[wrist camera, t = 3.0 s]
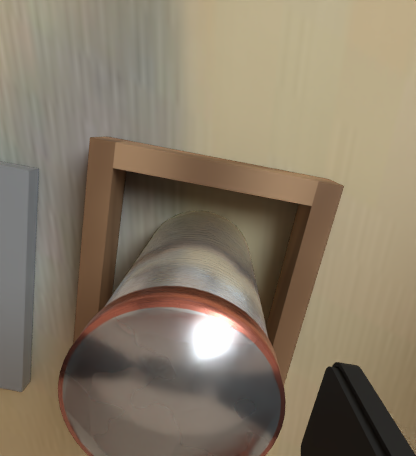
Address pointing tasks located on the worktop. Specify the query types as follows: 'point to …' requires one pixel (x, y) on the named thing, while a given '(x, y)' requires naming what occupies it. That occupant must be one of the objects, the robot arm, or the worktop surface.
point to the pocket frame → (213, 177)
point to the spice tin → (178, 353)
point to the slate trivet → (17, 272)
